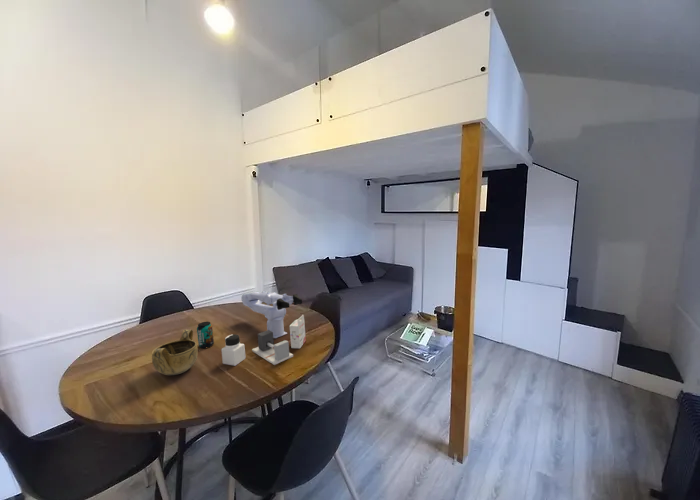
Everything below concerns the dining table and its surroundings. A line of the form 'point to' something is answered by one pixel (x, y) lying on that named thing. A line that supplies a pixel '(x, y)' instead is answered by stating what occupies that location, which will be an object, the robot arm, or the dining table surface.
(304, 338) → the ink cartridge box
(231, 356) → the medicine bottle
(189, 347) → the ceramic bowl
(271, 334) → the grey square sleeve
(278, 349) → the pipe stand
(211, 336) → the beverage can
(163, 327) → the dining table surface
